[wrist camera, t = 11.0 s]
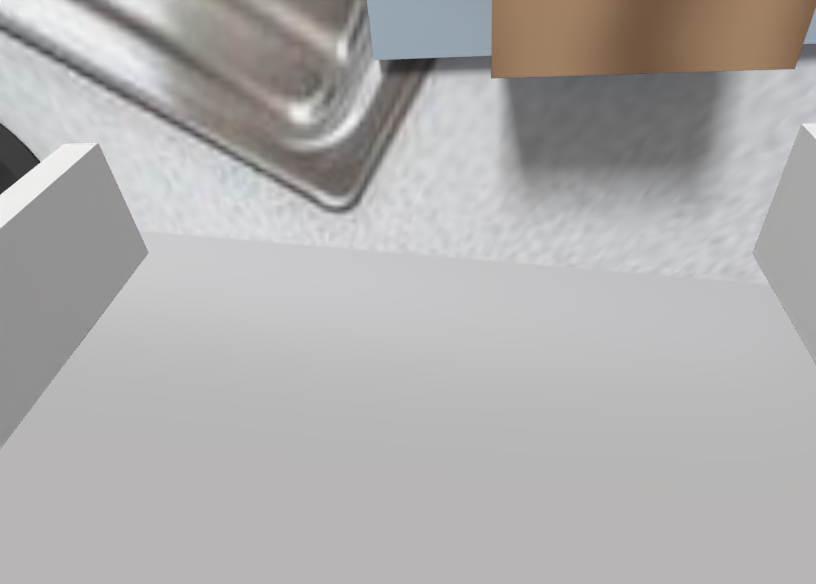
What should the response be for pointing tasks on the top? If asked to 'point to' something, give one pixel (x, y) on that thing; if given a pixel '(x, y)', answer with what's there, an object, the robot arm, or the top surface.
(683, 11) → the walnut frame
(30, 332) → the robot arm
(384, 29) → the picture ledge
